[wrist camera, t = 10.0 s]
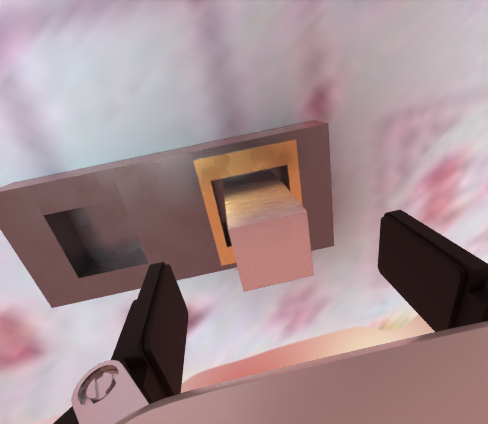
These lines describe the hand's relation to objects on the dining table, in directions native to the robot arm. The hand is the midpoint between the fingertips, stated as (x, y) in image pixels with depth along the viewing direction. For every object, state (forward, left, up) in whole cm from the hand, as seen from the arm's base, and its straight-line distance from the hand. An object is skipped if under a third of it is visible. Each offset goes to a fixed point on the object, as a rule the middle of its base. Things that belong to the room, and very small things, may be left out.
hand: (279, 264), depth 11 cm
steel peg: (+1, 0, -11) cm, 11 cm away
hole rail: (+1, -6, -12) cm, 13 cm away
